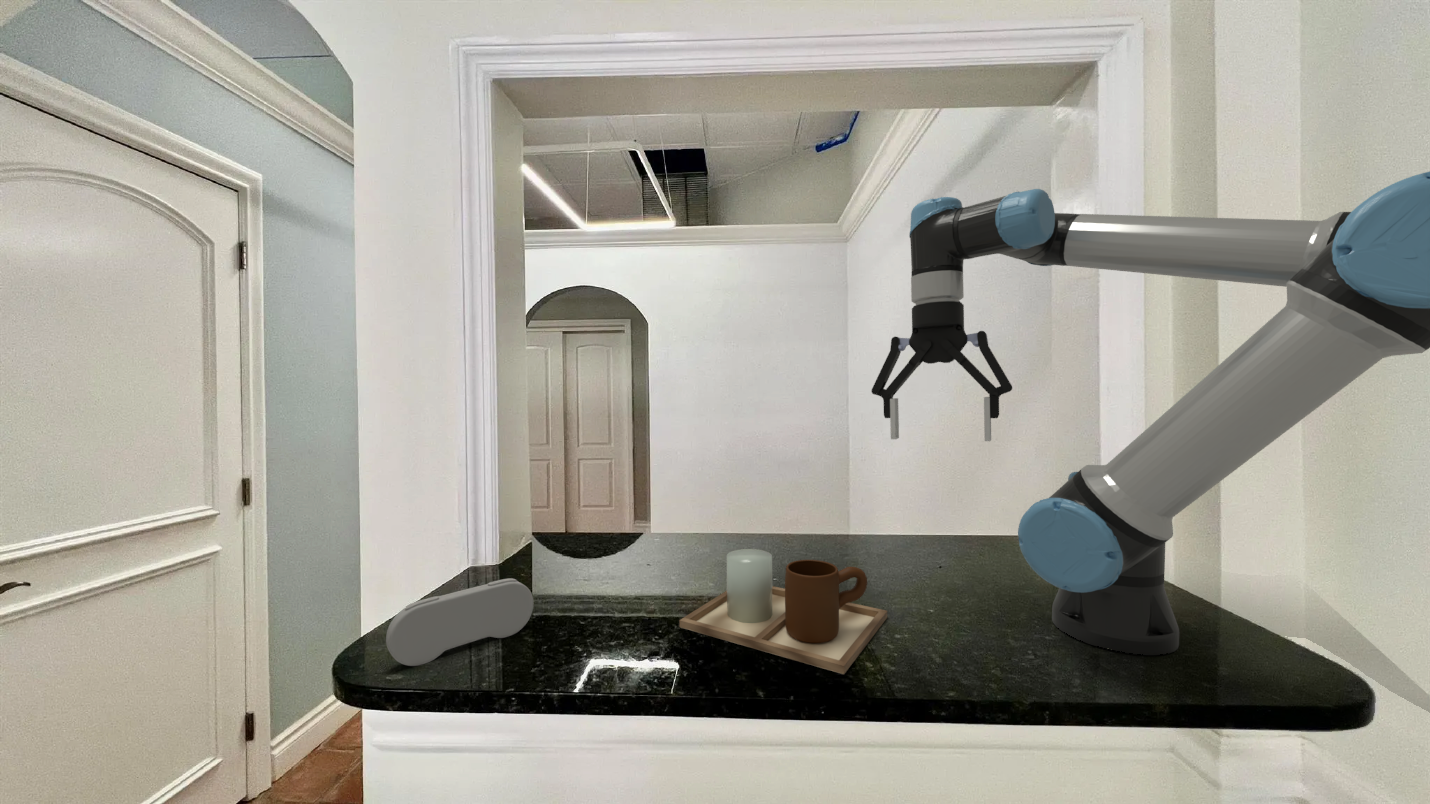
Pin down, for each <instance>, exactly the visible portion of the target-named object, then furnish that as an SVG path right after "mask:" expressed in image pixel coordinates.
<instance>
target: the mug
mask: <svg viewBox="0 0 1430 804" xmlns="http://www.w3.org/2000/svg"><path fill="white" fill-rule="evenodd" d="M852 578H856V581H855V585H854V586H853V588H851V589H845V590H842V591H840V585H841V584H842V583H844V582H847V581H848V580H850V579H852ZM867 587H868V578H867V575H866V573H865V572H864V570H862V569H861V568H859V567H857V566H846V567H844V568H842V569H841V570H839V569H838V567H837V566H836V565H835V564H833V563H831V562H828V561H825V560H819V559H800V560H799V559H798V560H794V561H792V562H789V563H788V564H787V565H786V566H785V576H784V589H785V624H786V630H787V632H788V634H789V635H790V636H792V637H793V638H795V639H797V640H799V641H802V642H807V643H824V642H828V641H831V640H833V639H834V638H835V637H836V636H837V634H838V631H839V609H840V608H841V607H842V606H844V605H845V604H846V603H853V602H856V601H857V600H859V599H860V598H862V596H863V595H864V594H865V593H866V591H867Z"/></svg>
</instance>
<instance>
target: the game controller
mask: <svg viewBox="0 0 1430 804" xmlns="http://www.w3.org/2000/svg"><path fill="white" fill-rule="evenodd" d="M533 610H534V596H533V594H532V592H531V590H530V589H529V588H528V587H527V586H526V585H525V584H523V583H522V582H519V581H518V580H517V579H515V578H512V577H511V578H503V579H499V580H494V581H490V582H488V583H485V584H482V585H478V586H474V587H469V588H466V589H462V590H458V591H454V592H450V593H447V594H442V595H438V596H437V595H435V596H431V597H428V598H424V599H420V600H417V601H414V602H411V603H409V604H408V605H406V606H405V607H404V608H402V609H401V610H400V611H399V612H397V614H396V615H395V616H394V617H393V619H392V620H391V622H390V623H389V625H388V627H387V630H386V637H385V644H386V647H387V650H388V652H389V653H390V655H391V657H392V658H393V659H394V660H395V661H396V662H397V663H399V664H402V665H404V666H408V667H417V666H423V665H424V664H428V663H430V662H432V661H434V660H435V659H437V658H438V657H439V656H441V655H442V654H443V653H444V652H445V651H448V650H451V649H453V648H456V647H460V646H463V645H467V644H470V643H472V642H475V641H480V640H482V639H486V638H490V637H491V638H495V639H496V638H497V639H504V638H508V637H510V636H514V635H515V634H517V633H518V632H520V630H522V629H523V628H524V627H525V626H526V624H527V623H528V621H530V618H531V616H532V614H533Z"/></svg>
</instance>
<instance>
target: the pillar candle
mask: <svg viewBox="0 0 1430 804" xmlns="http://www.w3.org/2000/svg"><path fill="white" fill-rule="evenodd" d="M772 586H773V554H772V553H770V552H768V551H766V550H763V549H759V548H757V549H755V548H742V549H736V550H732V551H729V552H728V553H727V554H726V591H727V615H728V616H729V617H730V618H731V619H733V620H735V621H738V622H743V623H758V622H763V621H766V620H768V619H770V618H771V617H772Z"/></svg>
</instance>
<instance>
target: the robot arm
mask: <svg viewBox="0 0 1430 804" xmlns="http://www.w3.org/2000/svg"><path fill="white" fill-rule="evenodd" d="M1049 197H1050V196H1049V193H1047V192H1046V191H1045V190H1043V189H1041V188H1033V189H1028V190H1024V191H1014V192H1012V193H1009V194H1007V195H1003V196H1000V197H996V198H994V199H990V200H985V201H983V202H979V203H976V204H972V205H968V206H965V207H963V204H962V201H961V200H960V199H959V198H957V197H952V196H941V197H937V198H930V199H925V200H923V201H921V202H919V203H917V204H916V205H915V206H913V208H912V210H911V213H910V230H909V234H908V235H909V236H908V237H909V239H910V258H911V259H910V260H911V261H910V263H911V265H910V266H911V276H910V277H911V278H910V284H911V285H910V286H911V287H910V288H911V289H910V290H911V295H910V297H911V302H912V303H913V304H915V305H914V306H913V307H912V308H911V335H910V337H909V338H908V337H899V336H893V337H892V338H891V340H890V351H889V352H888V355H887V357H886V359H885V360H884V363H883V365H882V366H881V369H880V371H879V373H878V375H877V377H876V380H875V381H874V383H873V386H872V388H871V393H872V394H873V395H876V396H878V397H880V398H882V400H883V417H884V418H885V419H889V421H890V422H889V423H890V440H897V439H899V438H900V429H899V427H900V423H899V422H900V421H899V420H900V419H899V416H900V415H899V398H898V397H897V398H894V395H896V393H897V392H898V391H899V389H901V388H902V386H903V385H904V384H905V382H907V380H908V379H909V378H910V376H912V374H913V373H914V372H915V371H916V369H917V368H918V367H920V365H921V364H922V363H923V362H924V363H925V364H936V363H942V364H950V363H952V362H954V361H956V362H957V363H958V365H960V366H961V367H962V368H963V369H964V370H965V371H966V372H967V373H968V374H969V375H970V376H971V377H972V378H973V379H974V380H975V381H976V382H977V383H978V384H979V385H980V387H982V389H984V391H985V392H986V393H987V394H988V395H989V396H984V397H983V410H984V411H983V417H984V418H983V419H984V420H983V421H984V423H983V424H984V427H983V428H984V430H983V431H984V432H983V433H984V442H991V441H992V419H998V418H999V416H1000V397H1001V395H1004V394H1007V393H1010V392H1011V391H1012V390H1013V385H1012V384H1011V382H1010V379H1008V376H1007V375H1006V373H1005V372H1004V370H1003V367H1001V365H1000V364H999V361H998V360H997V357H996V356H995V355H994V353H993V351H992V350H991V348H990V346H989V339H988V334H987V333H986V331H984V330H980V331H977V332H974V333H968V334H967V333H966V331H965V309H964V308H965V307H964V306H965V305H964V304H963V302H961V300H963V299H964V295H965V294H964V260H972V259H975V258H980V257H986V256H991V255H999V254H1000V255H1002V256H1006V257H1010V258H1013V259H1015V260H1016V259H1017V260H1021V261H1024V262H1027V263H1028V264H1030V265H1034V266H1040V267H1049V266H1050V267H1051V266H1062V267H1063V266H1065V267H1074V268H1075V267H1076V268H1077V267H1078V268H1084V269H1085V268H1086V269H1087V268H1089V269H1098V270H1108V271H1119V272H1128V273H1129V272H1131V273H1139V274H1149V275H1158V276H1159V275H1161V276H1168V277H1171V276H1172V277H1179V278H1180V277H1181V278H1191V279H1201V280H1202V279H1203V280H1213V281H1214V280H1215V281H1220V282H1221V281H1224V282H1234V283H1244V284H1257V285H1265V286H1273V287H1274V286H1275V287H1285V288H1286V303H1285V306H1283V307H1282V309H1280V311H1278V312H1277V313H1276V314H1275V315H1274V316H1273V317H1271V319H1269V320H1268V321H1267V322H1265V324H1264V325H1263V326H1261V327H1260V328H1259V329H1258V330H1257V331H1256V332H1255V333H1253V334H1252V335H1251V336H1250V337H1249V338H1248V339H1247V340H1245V341H1244V342H1243V343H1242V344H1241V345H1239V347H1238V348H1237V349H1235V350H1234V351H1233V352H1232V353H1230V355H1229V356H1227V357H1226V358H1225V359H1224V360H1223V361H1222V362H1221V363H1220V364H1218V365H1217V366H1216V367H1215V368H1214V369H1212V371H1210V372H1209V373H1208V374H1207V375H1206V376H1205V377H1204V378H1203V379H1201V381H1199V382H1198V383H1197V384H1196V385H1194V386H1193V388H1191V389H1190V390H1189V391H1188V392H1187V393H1186V394H1185V395H1183V396H1182V397H1181V398H1180V399H1179V400H1178V401H1177V402H1176V403H1174V404H1173V405H1172V406H1171V407H1170V408H1169V409H1167V410H1166V412H1164V413H1163V414H1162V415H1161V416H1160V417H1158V418H1157V419H1156V420H1155V421H1154V422H1153V423H1152V424H1151V425H1149V426H1148V427H1147V428H1146V429H1145V430H1144V431H1143V432H1141V433H1140V434H1139V435H1138V436H1137V437H1136V438H1135V439H1134V440H1133V441H1132V442H1130V443H1129V444H1128V445H1127V446H1126V447H1125V448H1123V449H1122V450H1121V451H1120V452H1119V453H1118V454H1116V455H1115V457H1113V459H1111V460H1110V461H1109V462H1108V463H1106V464H1100V465H1099V464H1086V465H1085V466H1083V467H1081V468H1080V470H1078V471H1072V472H1071V473H1069V474H1068V478H1067V479H1068V480H1067V481H1066V482H1065V483H1064V484H1062V486H1061V487H1060V488H1058V489H1057V490H1056V491H1055V492H1054V493H1053V494H1051V495H1050V496H1049V497H1048V498H1043V499H1040V500H1039V501H1035V503H1033V504H1032V505H1031V506H1030V507H1029V508H1028V509H1027V510H1026V511H1025V512H1024V514H1023V515H1022V517H1021V519H1020V520H1019V524H1018V527H1017V536H1018V542H1019V544H1018V546H1019V548H1020V551H1021V553H1022V556H1023V558H1024V560H1025V561H1026V563H1027V564H1028V565H1029V567H1030V568H1031V569H1032V571H1034V572H1035V574H1037V575H1038V577H1040V578H1042V580H1044V581H1045V582H1047V583H1048V584H1050V585H1052V586H1054V587H1056V588H1058V591H1057V593H1056V595H1055V597H1054V600H1053V602H1052V607H1051V608H1052V609H1051V611H1052V612H1051V621H1052V623H1053V625H1054V626H1055V627H1056V628H1057V629H1058V628H1059V629H1058V630H1059V631H1061V632H1063V633H1064V632H1065V633H1064V634H1066V633H1067V634H1068V636H1069V635H1070V636H1069V637H1071V636H1072V638H1073V637H1074V639H1075V638H1076V639H1075V640H1078V641H1080V640H1081V641H1080V642H1082V641H1083V642H1082V643H1084V644H1087V645H1091V646H1094V647H1097V646H1099V647H1098V648H1100V647H1103V648H1102V649H1104V648H1109V649H1112V650H1116V651H1115V652H1117V651H1120V652H1119V653H1122V652H1125V653H1124V654H1129V653H1133V654H1132V655H1137V654H1141V655H1140V656H1161V655H1160V654H1163V655H1167V654H1166V653H1168V654H1171V653H1173V652H1176V651H1177V650H1178V649H1179V648H1180V647H1179V646H1180V628H1179V625H1178V623H1177V619H1176V616H1175V614H1174V610H1173V609H1172V605H1171V604H1170V603H1171V602H1170V600H1169V597H1168V595H1167V592H1166V588H1165V573H1166V572H1165V569H1166V568H1165V566H1166V562H1165V561H1166V543H1167V542H1168V541H1169V540H1171V539H1172V538H1173V537H1174V526H1173V518H1174V517H1175V516H1176V515H1179V513H1181V512H1182V511H1184V510H1185V509H1186V508H1188V507H1189V506H1190V505H1192V503H1194V502H1195V501H1197V500H1198V499H1199V498H1200V497H1202V496H1203V495H1204V494H1205V493H1208V491H1210V490H1211V489H1212V488H1213V487H1215V486H1216V485H1218V484H1219V483H1221V482H1222V481H1223V480H1224V479H1225V478H1227V477H1228V476H1229V475H1231V474H1232V473H1233V472H1235V471H1236V470H1237V469H1239V468H1240V467H1241V466H1243V465H1244V464H1245V463H1246V462H1248V461H1250V459H1252V458H1253V457H1255V456H1256V455H1257V454H1258V453H1260V452H1261V451H1262V450H1263V449H1265V448H1266V447H1268V446H1269V445H1270V444H1272V443H1273V442H1274V441H1276V440H1277V439H1279V437H1281V436H1283V434H1285V433H1286V432H1287V431H1289V430H1290V429H1292V428H1293V427H1295V426H1296V425H1297V424H1298V423H1300V422H1301V421H1302V420H1303V419H1305V418H1306V417H1308V415H1310V414H1311V413H1312V412H1314V411H1316V410H1317V408H1319V407H1320V406H1322V405H1324V403H1326V402H1327V401H1328V400H1330V399H1332V397H1334V396H1335V395H1336V394H1337V393H1339V392H1341V391H1342V390H1343V389H1344V388H1346V386H1348V385H1349V384H1352V383H1353V381H1355V380H1357V378H1359V377H1360V376H1361V375H1363V374H1364V373H1365V372H1366V371H1368V370H1369V369H1371V368H1372V367H1373V366H1374V365H1376V364H1377V363H1378V362H1380V361H1381V360H1382V359H1384V358H1388V357H1391V356H1392V357H1394V356H1403V355H1404V356H1405V355H1414V354H1415V355H1417V354H1418V355H1419V354H1423V353H1425V352H1426V351H1427V350H1429V349H1430V171H1426V172H1422V173H1419V174H1416V175H1412V176H1409V177H1406V178H1404V179H1401V180H1399V181H1397V182H1394V183H1391V184H1390V185H1388V186H1386V187H1384V188H1382V189H1380V190H1379V191H1376V193H1374V194H1371V196H1369V197H1368V198H1366V199H1365V200H1364V201H1362V203H1360V204H1359V205H1357V206H1356V207H1355V208H1354V209H1353V210H1352V211H1339V212H1338V213H1335V214H1334V215H1332V216H1329V217H1328V218H1326V219H1322V220H1306V219H1305V220H1300V219H1299V220H1298V219H1274V218H1273V219H1271V218H1270V219H1269V218H1268V219H1267V218H1266V219H1265V218H1238V217H1237V218H1234V217H1230V218H1229V217H1227V218H1226V217H1200V216H1199V217H1198V216H1195V217H1194V216H1168V215H1167V216H1166V215H1165V216H1163V215H1162V216H1161V215H1131V214H1127V215H1126V214H1100V213H1099V214H1095V213H1094V214H1093V213H1092V214H1091V213H1080V214H1079V213H1067V212H1066V213H1065V212H1063V213H1061V212H1060V213H1059V212H1055V208H1054V204H1053V201H1052V199H1051V198H1049ZM969 342H971V343H972V345H973V346H974V347H975V348H979V350H980V353H981V355H982V356H983V357H984V359H985V362H987V364H988V366H989V368H990V370H991V371H992V374H993V375H994V376H995V377H994V378H996V380H997V382H998V383H999V386H997V387H996V386H995V385H994V384H993V383H992V382H991V381H990V380H989V379H988V378H987V377H986V376H985V375H984V374H983V373H982V372H981V371H980V370H979V369H978V367H976V365H974V364H973V363H972V362H971V361H970V360H969V358H967V357H966V356H965V355H964V354H963V352H962V351H963V349H964V348H965V347H966V345H967V344H968V343H969ZM908 346H910V348H911V349H912V350H913V352H915V353H914V354H913V355H912V356H911V358H910V359H909V360H908V362H907V364H905V366H904V367H903V368H902V370H901V371H899V373H898V374H897V375H896V377H895V378H894V379H893V380H892V382H891V383H890V384H889V385H888V387H886V389H885V386H886V384H887V382H888V380H889V378H890V376H891V375H892V372H893V370H894V369H895V366H896V364H897V362H898V359H899V357H900V356H901V352H903V351H905V350H906V347H908ZM1067 634H1066V635H1067ZM1112 650H1111V651H1112ZM1121 651H1122V652H1121ZM1142 654H1143V655H1142Z"/></svg>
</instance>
